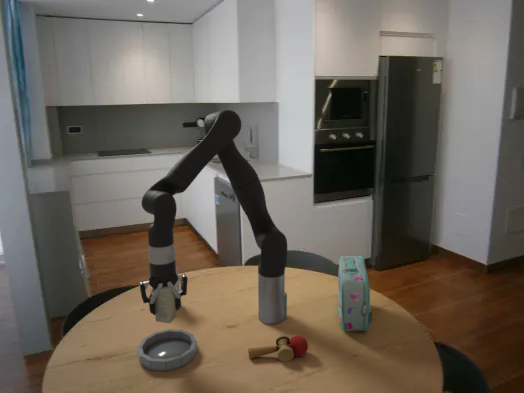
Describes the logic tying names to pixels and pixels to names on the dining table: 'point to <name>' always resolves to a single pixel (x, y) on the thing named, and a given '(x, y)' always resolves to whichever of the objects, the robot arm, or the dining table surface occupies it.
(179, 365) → the round tray
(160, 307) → the box
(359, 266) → the lunch box
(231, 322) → the dining table surface
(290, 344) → the kendama
